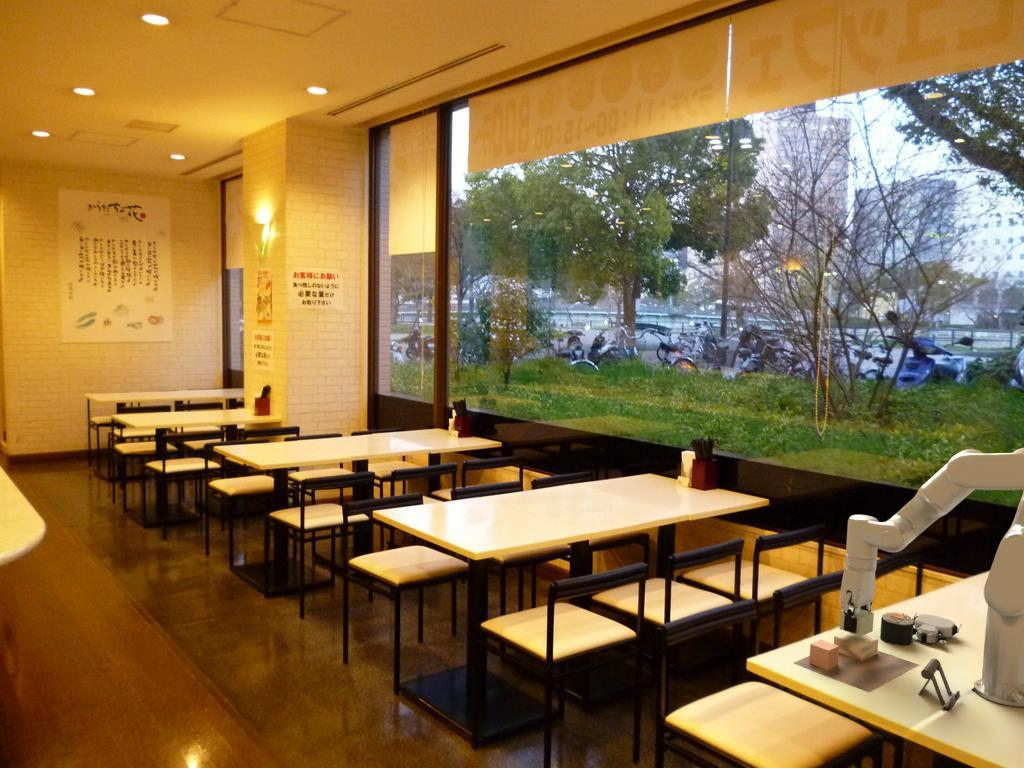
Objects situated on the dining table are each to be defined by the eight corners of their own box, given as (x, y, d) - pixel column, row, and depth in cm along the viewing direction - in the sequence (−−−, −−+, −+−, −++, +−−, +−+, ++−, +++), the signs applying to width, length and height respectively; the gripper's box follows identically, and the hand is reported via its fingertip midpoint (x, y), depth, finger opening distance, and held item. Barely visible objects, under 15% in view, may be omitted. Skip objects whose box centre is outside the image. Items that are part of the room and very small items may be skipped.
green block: (872, 631, 214) (873, 612, 213) (861, 636, 210) (862, 617, 210) (851, 624, 218) (852, 606, 218) (839, 629, 215) (840, 610, 214)
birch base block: (877, 653, 214) (878, 638, 214) (862, 660, 209) (863, 645, 209) (848, 643, 220) (849, 629, 220) (833, 650, 215) (834, 635, 215)
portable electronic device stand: (950, 713, 184) (953, 677, 183) (913, 701, 189) (915, 667, 189) (959, 700, 191) (962, 665, 190) (923, 689, 196) (925, 656, 195)
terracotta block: (837, 664, 206) (839, 645, 206) (827, 669, 203) (828, 650, 203) (819, 658, 210) (820, 639, 210) (809, 662, 207) (810, 644, 206)
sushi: (877, 644, 223) (879, 616, 222) (883, 635, 230) (885, 607, 229) (909, 652, 218) (911, 623, 217) (915, 642, 225) (917, 614, 224)
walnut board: (919, 668, 208) (919, 664, 208) (868, 696, 191) (868, 692, 191) (845, 642, 223) (845, 639, 223) (792, 666, 207) (793, 662, 207)
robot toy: (947, 654, 219) (962, 635, 230) (947, 639, 219) (962, 620, 229) (899, 641, 228) (916, 624, 238) (899, 626, 227) (916, 609, 238)
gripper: (863, 553, 221) (859, 617, 222) (830, 564, 210) (825, 631, 212) (890, 560, 215) (886, 626, 217) (857, 572, 204) (853, 640, 206)
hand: (856, 628), depth 214 cm, fingers closed on green block, 6 cm apart
